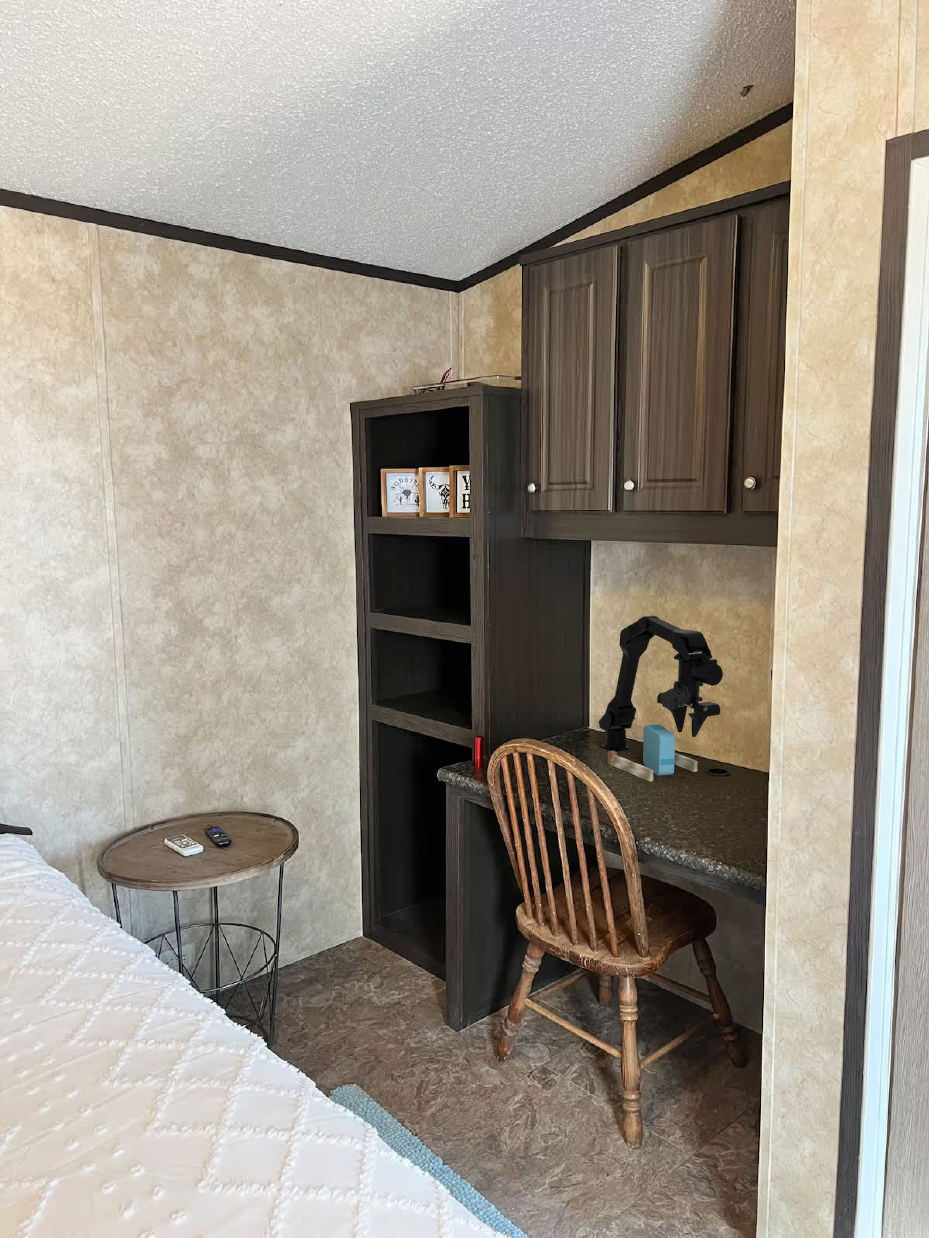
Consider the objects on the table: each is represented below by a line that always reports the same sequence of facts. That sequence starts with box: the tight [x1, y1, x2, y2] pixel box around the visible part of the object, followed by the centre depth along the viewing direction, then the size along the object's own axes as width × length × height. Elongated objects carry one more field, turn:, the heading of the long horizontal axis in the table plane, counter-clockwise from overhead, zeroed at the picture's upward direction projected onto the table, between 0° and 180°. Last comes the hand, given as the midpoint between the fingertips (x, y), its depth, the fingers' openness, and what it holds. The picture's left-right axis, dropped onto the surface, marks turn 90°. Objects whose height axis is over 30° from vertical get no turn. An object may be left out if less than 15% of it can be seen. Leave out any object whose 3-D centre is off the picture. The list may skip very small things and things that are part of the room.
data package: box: [642, 724, 676, 776], centre depth 261 cm, size 12×4×12 cm, turn 11°
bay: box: [607, 750, 699, 782], centre depth 264 cm, size 18×18×4 cm
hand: (686, 734), depth 251 cm, fingers open, 5 cm apart
